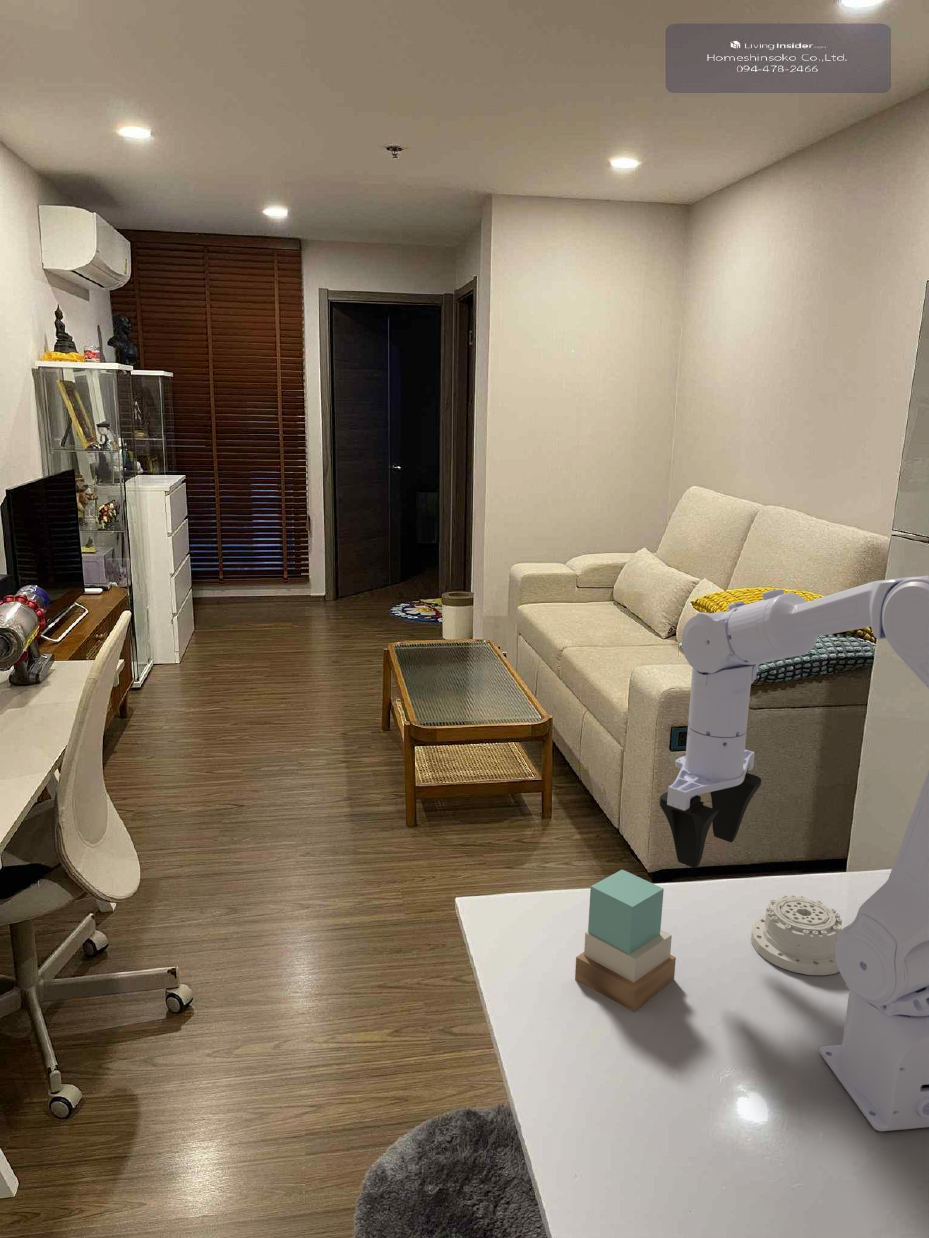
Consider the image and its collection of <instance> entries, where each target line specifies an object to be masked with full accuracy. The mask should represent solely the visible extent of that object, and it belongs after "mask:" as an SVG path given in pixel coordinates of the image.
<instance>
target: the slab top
mask: <svg viewBox="0 0 929 1238" xmlns="http://www.w3.org/2000/svg"><path fill="white" fill-rule="evenodd" d="M584 934H585V935H584V950H583V952H584V955H585V956H586V957H588V958H590V959H592V960H594V961H595V962H597V963H599V964H601V965H603V966H604V967H606V968H608V969H610V970H612V971H613V972H615V973H617V974H619V975H621V976H622V977H624V978H626V979H628V980H630V981H631V982H633V983H634V982H636V981H637V980H639V979H640V978H641V977H643V976H644V975H646V974H647V973H649V972H650V971H651V970H653V969H654V968H656V967H657V966H659V965H660V964H661V963H663V962H664V961H666V960H667V959H668V958H670V955H671V952H672V951H671V949H672V937H673V936H672V935H673V934H671V933H669V932H666V931H665V930H663V929H660V935H659V936H657V937H656V938H654V939H653V940H651V941H649V942H648V943H646V944H645V945H643V946H642V947H640V948H638V949H637V950H635V951H634V952H632V953H631V954H628V953H626V952H624V951H622V950H620V949H618V948H616V947H615V946H613V945H611V944H609V943H607V942H605V941H603V940H601V939H600V938H598V937H596V936H594V935H592V934H590V933H588V931H586V932H585V933H584Z"/></svg>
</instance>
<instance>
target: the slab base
mask: <svg viewBox="0 0 929 1238" xmlns="http://www.w3.org/2000/svg"><path fill="white" fill-rule="evenodd" d="M676 960H677V957H676V956H674V955H672V954H670V958H668V959H667V960H666V961H664V962H663V963H661V964H660V965H659V966H657V967H656V968H654V969H653V970H651V971H650V972H649V973H647V974H646V975H644V976H643V977H641V978H640V979H639V980H637V981H636V982H634V983H633V982H631V981H630V980H628V979H626V978H624V977H622V976H621V975H619V974H617V973H615V972H613V971H612V970H610V969H608V968H606V967H604V966H603V965H601V964H599V963H597V962H595V961H594V960H592V959H590V958H588V957H586V956H585V955H584V951H583V952H581V953H580V954H579V955H577V956H576V957H575V971H574V972H575V973H574V974H575V975H574V980H575V981H577V982H579V983H581V984H583V985H584V986H586V987H588V988H590V989H592V990H593V991H596V992H597V993H599V994H601V995H603V996H605V997H606V998H608V999H610V1000H611V1001H614V1002H615V1003H618V1004H619V1005H621V1006H623V1007H625V1008H626V1009H628V1010H630V1011H632V1012H634V1013H635V1012H636V1011H637V1010H638V1009H640V1008H642V1007H643V1005H645V1004H646V1003H647V1002H649V1001H650V1000H651V999H652V998H654V997H655V996H656V995H657V994H659V993H660V991H663V989H664V988H666V987H667V986H668V985H670V984H671V983H672V982H674V981H675V972H676ZM649 999H650V1000H649ZM644 1003H645V1004H644Z"/></svg>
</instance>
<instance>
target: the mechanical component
mask: <svg viewBox="0 0 929 1238" xmlns="http://www.w3.org/2000/svg"><path fill="white" fill-rule="evenodd" d="M842 925H843V919H842V918H841V914H840V913H837V910H836V909H835V908H830V907H828V906H826V905H824V904H823V901H822V900H817V901H815V900H811V899H808V898H806V897H805V896H803V895H799V896H798V897H797V896H796V895H794V894H792V895H790V897H789V896H788V895H782V898H778V899H777V898H776V899H770V902H769V904H767V906H766V911H765V915H763V916H760V917H758V919H756V920H755V921H754V923H753V925H752V927H751V933H750V934H751V935H750V940H751V944H752V946H753V948H754V949H755V951H756V952H757V954H759V955H760V956H761V957H762V958H763V959H765V960H766V961H768V962H769V963H771V964H773V965H774V966H776V967H778V968H780V969H784V970H787V971H790V972H792V973H797V974H801V975H806V976H807V975H808V976H827V975H828V976H829V975H835V974H837V973H840V971H839V969H838V966H837V962H836V958H835V942H836V938H837V936H838V934H839V932H840V931H841V930H842V929H843V928H842Z"/></svg>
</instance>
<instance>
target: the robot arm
mask: <svg viewBox="0 0 929 1238" xmlns="http://www.w3.org/2000/svg"><path fill="white" fill-rule="evenodd" d="M761 595H762V599H761V600H757V601H754V602H750V603H747V604H746V603H745V602H744V601H737V602H733V603H729V604H728V606H727V607H728V609H727V610H726V611H717V612H712V613H711V612H710V613H709V612H698V613H697V614H696V615H695V616H694V615H693V616H692V617H691V618H689V619H688V620H687V622H686V623H685V625H684V627H683V628H682V629H683V630H682V634H681V646H682V647H681V648H682V651H683V652H682V653H683V654H684V657H685V659H686V660H687V663H688V665H690V666H691V668H692V670H691V682H690V694H689V695H690V696H689V706H688V707H689V708H688V719H687V721H688V723H687V733H686V734H687V735H686V746H685V747H686V748H685V755H684V756H681V757H678V758H677V759H675V764H674V766H675V768H677V769H680V770H679V772H678V774H677V777H676V779H675V780H674V782H673V783H672V784H670V785H669V786H668V787H667V791H665V792H664V793H663V794H661V795H660V797H659V807H660V808H661V810H662V812H663V813H664V815H665V817H666V819H667V822H668V824H669V827H670V831H671V835H672V839H673V842H674V849H675V853H676V858H677V862H678V863H681V864H683V865H685V866H687V867H690V868H693V869H696V868H698V867H699V866H700V863H701V861H702V858H703V853H704V850H705V849H704V848H705V844H706V839H707V837H708V836H707V835H708V832H709V830H710V827H711V825H712V833H713V837H715V838H717V839H721V840H723V841H726V842H728V843H733V842H734V841H735V839H736V837H737V835H738V832H739V829H740V826H741V823H742V821H743V818H744V815H745V812H746V810H747V809H748V806H749V804H750V802H751V801H752V798H753V797H754V795H755V793H756V792H757V791H758V789H759V788H760V787H761V785H762V779H761V777H760V776H758V775H755V774H752V773H749V772H750V771H752V770H753V769H754V766H755V765H754V764H755V754H756V753H755V751H752V750H748V749H746V741H747V733H748V732H747V729H748V721H749V720H748V717H749V708H750V706H749V705H750V697H751V688H752V686H751V685H752V684H753V683H754V681H755V680H757V673H758V668H759V666H760V665H761V664H762V663H763V664H764V663H769V662H774V661H779V660H783V659H788V658H794V657H799V656H804V655H806V654H807V653H809V652H811V650H812V649H813V648H814V647H815V645H816V643H817V641H818V638H819V637H821V636H828V635H832V634H837V633H843V632H849V631H855V630H860V629H861V630H862V629H867V628H871V631H872V634H873V637H874V638H876V639H877V640H883V639H886V641H887V642H888V644H889V646H890V647H891V648H892V649H893V651H894V652H895V653H896V655H897V656H898V657H899V658H900V659H901V660H902V661H903V662H904V664H906V666H908V669H910V670H911V671H912V672H913V674H915V675H916V677H917V678H918V679H919V680H920V681H921V683H922V684H924V686H925V687H926V688H927V689H928V690H929V575H922V576H921V575H919V576H906V577H897V578H890V579H882V580H880V579H879V580H874V581H870V582H867V583H865V584H862V585H858V586H855V587H851V588H848V589H845V590H842V591H839V592H836V593H833V594H830V595H826V596H823V597H820V598H815V599H813V600H810V601H808V600H807V599H805V598H804V597H803V596H801V595H800V594H796V593H793V592H787V593H785V590H784V589H772V590H768V591H764V592H762V594H761ZM707 793H708V794H710V799H711V807H709V806H706V805H704V801H702V795H704V794H707ZM910 817H911V818H910V819H909V822H908V826H907V828H906V830H905V833H904V836H903V839H902V842H901V844H900V847H899V848H898V852H897V855H896V858H895V860H894V863H893V866H892V868H891V871H890V873H889V876H888V879H887V880H886V882H885V883H884V884H882V886H880V887H879V888H878V889H877V890H876V891H875V892H874V893H873V894H872V895H871V896H869V898H868V899H867V900H865V901H864V902H863V903H862V904H861V906H860V907H859V908H858V911H857V914H856V915H855V918H854V920H853V921H852V922H851V923H849V924H848V925H846V926H845V927H843V928H841V931H840V932H839V934H838V936H837V938H836V942H835V958H836V962H837V966H838V969H839V971H840V972H839V973H840V975H841V977H842V979H843V981H844V983H845V986H846V988H848V990H849V991H848V996H847V1004H846V1005H847V1006H846V1011H845V1013H846V1014H845V1020H844V1028H843V1036H842V1044H837V1045H835V1044H834V1045H824V1046H820V1047H819V1054H820V1055H821V1057H822V1058H823V1059H824V1062H826V1064H827V1065H828V1066H829V1068H830V1070H831V1071H832V1073H833V1074H834V1075H835V1076H836V1078H837V1079H838V1081H839V1082H840V1084H842V1086H843V1088H844V1089H845V1090H846V1092H847V1093H848V1095H849V1096H850V1098H851V1099H852V1100H853V1101H854V1102H855V1104H856V1106H857V1107H858V1108H859V1110H860V1111H861V1112H862V1114H863V1115H864V1117H865V1118H866V1120H867V1121H868V1122H869V1124H870V1125H871V1126H872V1128H873V1129H874V1130H875V1131H878V1132H888V1131H898V1130H899V1131H901V1130H910V1129H911V1130H912V1129H920V1128H921V1129H922V1128H929V770H928V772H927V773H926V776H925V780H924V783H923V785H922V787H921V790H920V793H919V796H918V798H917V801H916V804H915V806H914V809H913V812H912V814H911V816H910Z"/></svg>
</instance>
